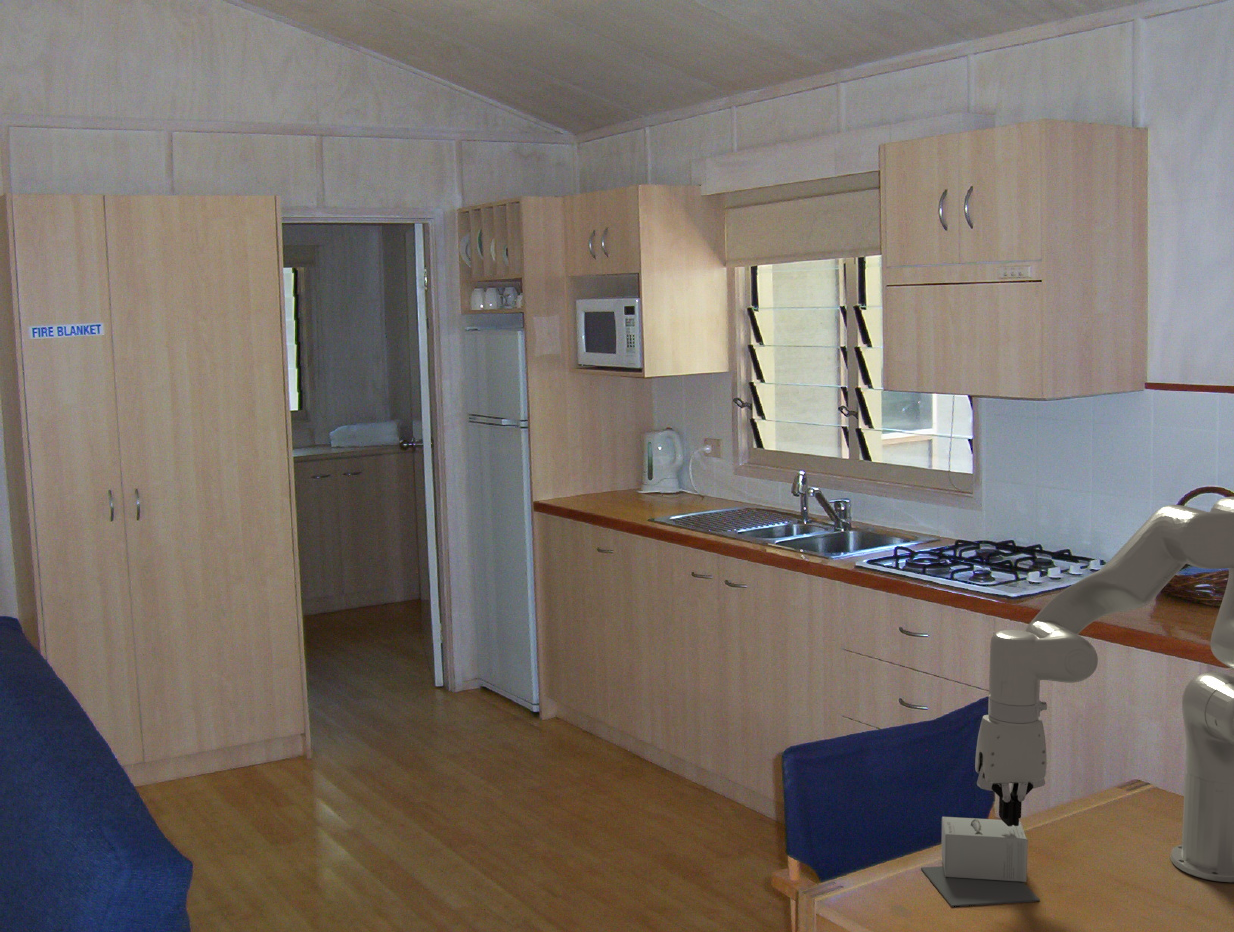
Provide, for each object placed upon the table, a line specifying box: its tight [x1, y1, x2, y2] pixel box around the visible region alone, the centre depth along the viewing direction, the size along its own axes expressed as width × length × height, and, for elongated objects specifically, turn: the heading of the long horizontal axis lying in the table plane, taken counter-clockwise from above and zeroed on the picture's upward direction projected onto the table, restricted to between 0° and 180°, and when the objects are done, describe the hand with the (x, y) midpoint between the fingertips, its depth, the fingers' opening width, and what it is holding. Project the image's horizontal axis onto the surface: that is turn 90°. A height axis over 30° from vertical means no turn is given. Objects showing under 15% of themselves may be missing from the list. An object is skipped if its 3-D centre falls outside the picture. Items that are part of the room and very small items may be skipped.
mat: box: [920, 865, 1041, 908], centre depth 194 cm, size 14×13×1 cm
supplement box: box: [941, 816, 1029, 883], centre depth 197 cm, size 7×7×13 cm
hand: (1009, 822), depth 195 cm, fingers closed
